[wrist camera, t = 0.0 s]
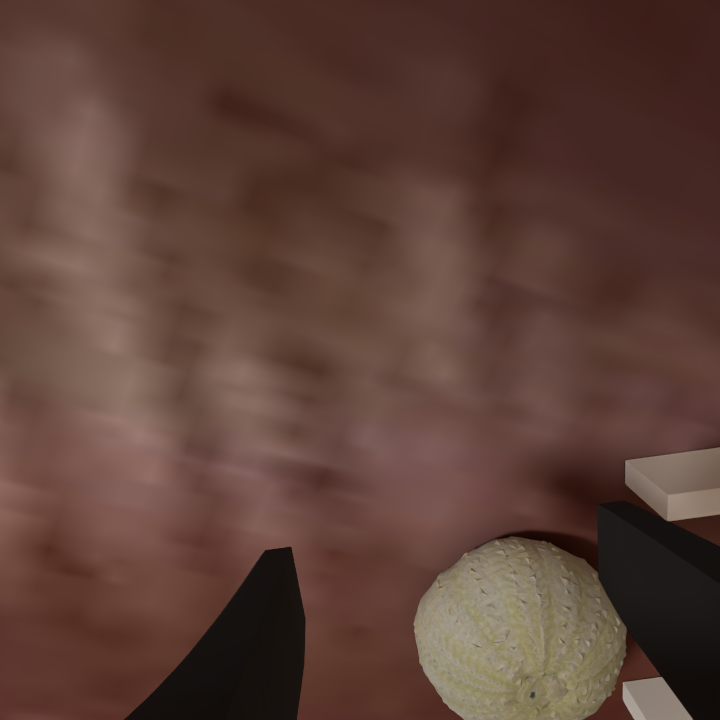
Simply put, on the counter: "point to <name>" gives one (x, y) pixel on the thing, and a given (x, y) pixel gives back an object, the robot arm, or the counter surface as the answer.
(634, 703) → the shallow white tray
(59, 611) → the counter surface
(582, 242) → the counter surface
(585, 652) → the sea urchin shell
